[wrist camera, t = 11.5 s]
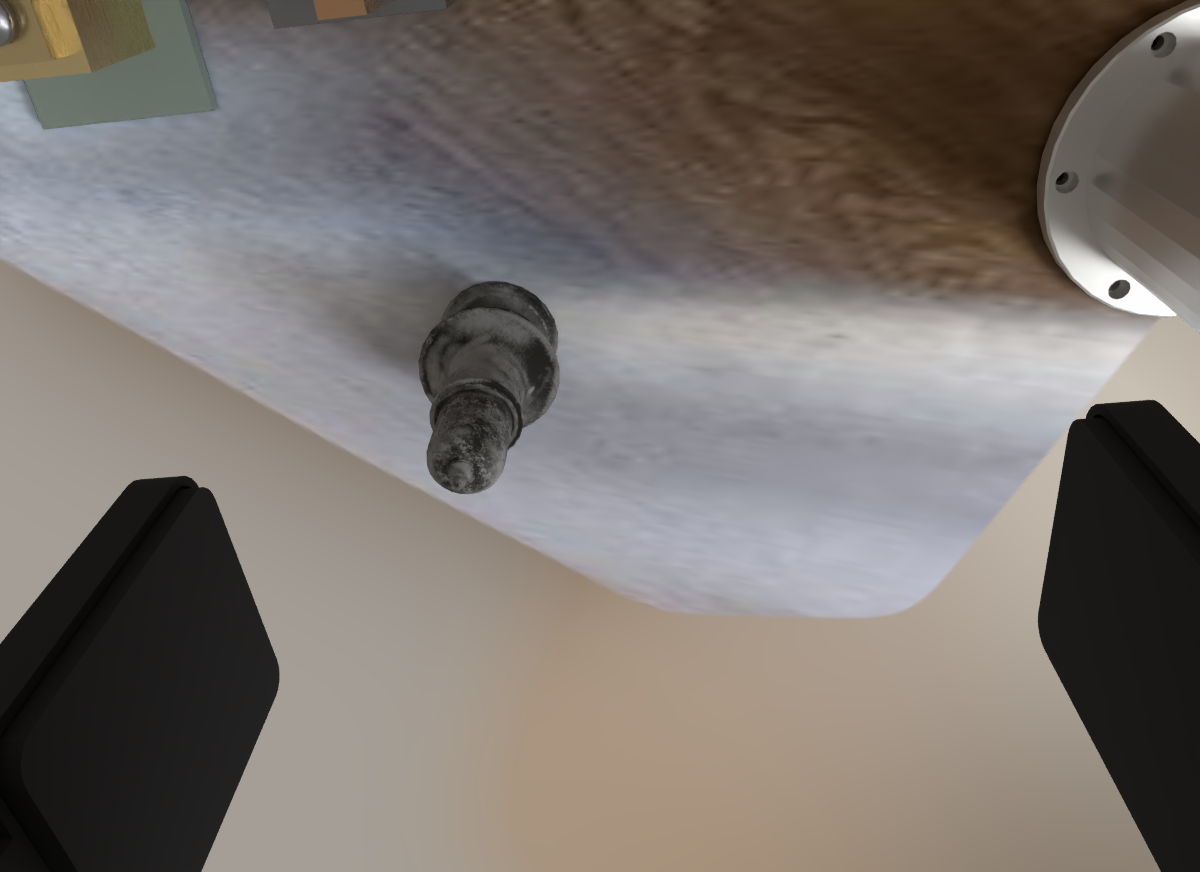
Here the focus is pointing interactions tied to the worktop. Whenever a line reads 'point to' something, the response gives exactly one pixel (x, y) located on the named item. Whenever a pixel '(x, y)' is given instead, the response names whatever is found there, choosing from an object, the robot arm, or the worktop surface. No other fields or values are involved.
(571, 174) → the worktop surface
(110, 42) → the lever cap
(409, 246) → the worktop surface
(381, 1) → the body
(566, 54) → the worktop surface
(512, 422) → the salt shaker
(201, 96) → the mat
